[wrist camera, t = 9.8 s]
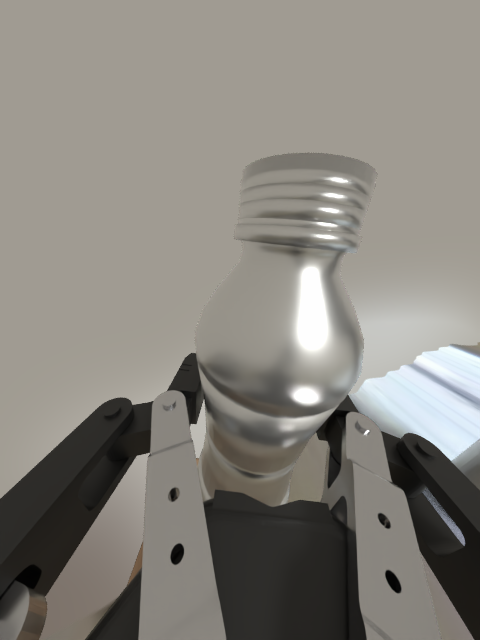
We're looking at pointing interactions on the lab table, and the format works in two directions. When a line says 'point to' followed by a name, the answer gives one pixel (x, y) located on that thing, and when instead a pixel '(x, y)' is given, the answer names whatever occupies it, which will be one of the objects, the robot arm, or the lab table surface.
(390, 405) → the lab table surface
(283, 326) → the plastic bottle
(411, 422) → the lab table surface
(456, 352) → the lab table surface
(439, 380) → the lab table surface
